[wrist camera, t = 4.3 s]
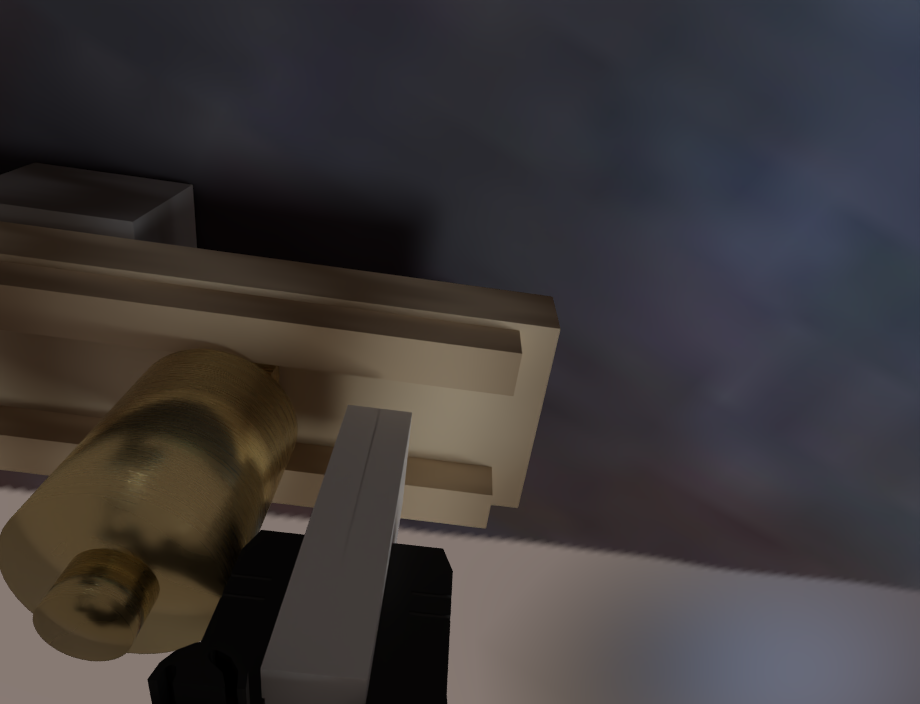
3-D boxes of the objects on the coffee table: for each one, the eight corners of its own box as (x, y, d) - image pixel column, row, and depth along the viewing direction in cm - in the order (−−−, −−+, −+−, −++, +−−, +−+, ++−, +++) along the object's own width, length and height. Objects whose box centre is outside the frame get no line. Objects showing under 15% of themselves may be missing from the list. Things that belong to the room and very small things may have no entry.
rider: (164, 444, 18) (-14, 690, 11) (149, 315, 16) (-76, 526, 9) (308, 462, 18) (212, 715, 11) (310, 336, 16) (197, 557, 9)
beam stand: (-248, 311, 23) (-523, 426, 17) (-339, 109, 20) (-726, 158, 13) (507, 408, 24) (516, 550, 18) (543, 234, 21) (570, 333, 14)
